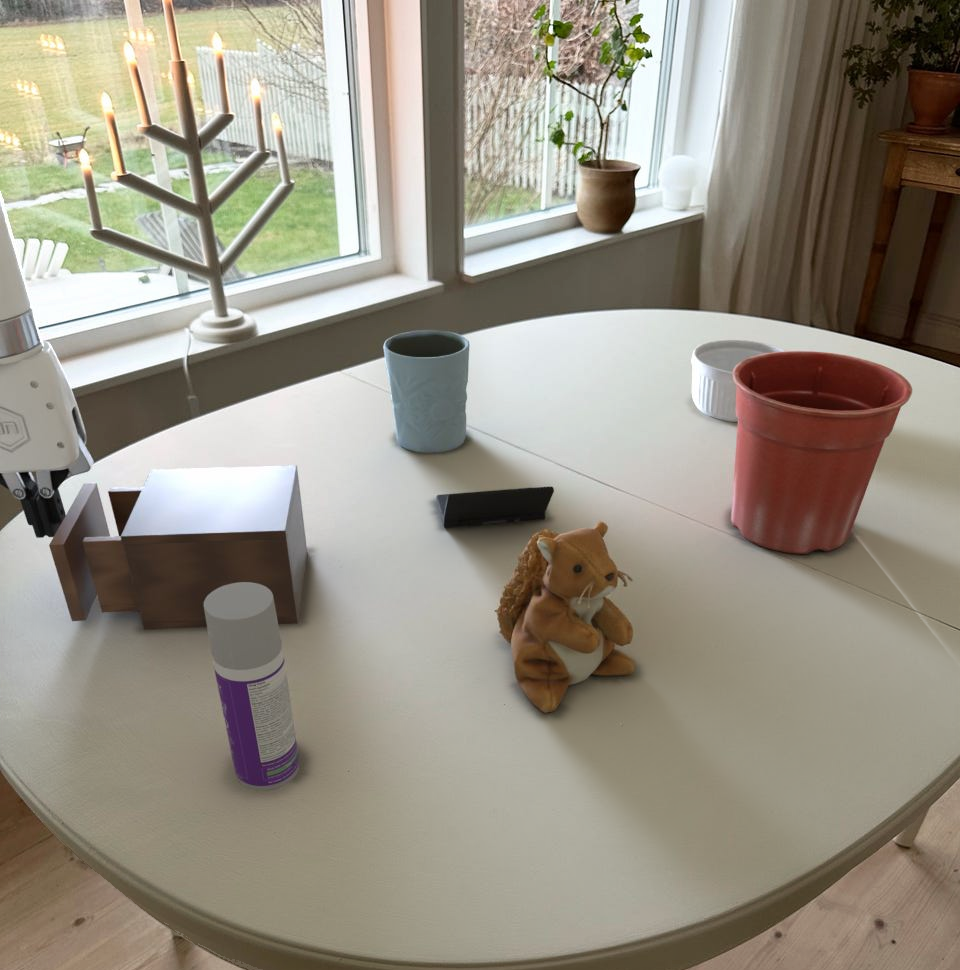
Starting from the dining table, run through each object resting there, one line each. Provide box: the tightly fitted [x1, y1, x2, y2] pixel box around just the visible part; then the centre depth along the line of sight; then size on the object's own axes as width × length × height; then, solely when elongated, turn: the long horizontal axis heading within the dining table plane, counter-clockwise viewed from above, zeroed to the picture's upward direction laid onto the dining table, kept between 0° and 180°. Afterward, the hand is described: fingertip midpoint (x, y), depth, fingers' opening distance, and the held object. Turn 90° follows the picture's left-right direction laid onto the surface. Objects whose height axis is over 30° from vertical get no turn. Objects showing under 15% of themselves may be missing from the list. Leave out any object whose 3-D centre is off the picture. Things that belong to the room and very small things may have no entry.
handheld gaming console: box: [436, 486, 555, 529], centre depth 100 cm, size 12×7×10 cm
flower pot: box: [730, 350, 913, 555], centre depth 96 cm, size 16×16×16 cm
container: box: [204, 582, 300, 792], centre depth 66 cm, size 5×5×15 cm
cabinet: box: [121, 464, 308, 631], centre depth 88 cm, size 14×13×10 cm
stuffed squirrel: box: [494, 520, 636, 714], centre depth 78 cm, size 10×14×13 cm
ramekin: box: [691, 339, 787, 423], centre depth 125 cm, size 13×13×7 cm
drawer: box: [48, 482, 143, 622], centre depth 87 cm, size 14×11×8 cm
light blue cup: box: [382, 329, 470, 454], centre depth 115 cm, size 10×10×12 cm
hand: (50, 529), depth 89 cm, fingers closed
